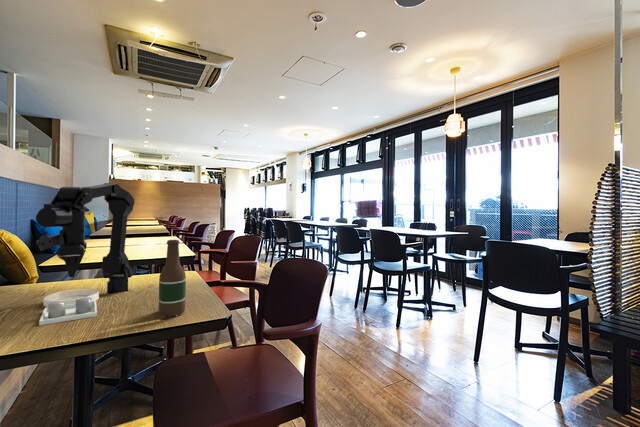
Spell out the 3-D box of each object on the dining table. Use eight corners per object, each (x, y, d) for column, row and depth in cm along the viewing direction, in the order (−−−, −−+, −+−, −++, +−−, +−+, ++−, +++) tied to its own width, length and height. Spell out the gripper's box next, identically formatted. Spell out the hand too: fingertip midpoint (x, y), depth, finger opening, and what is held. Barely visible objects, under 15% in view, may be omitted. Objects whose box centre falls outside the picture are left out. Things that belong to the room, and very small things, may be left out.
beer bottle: (158, 319, 92) (159, 241, 92) (158, 311, 99) (159, 239, 99) (186, 315, 96) (187, 240, 95) (184, 308, 102) (185, 238, 102)
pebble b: (65, 312, 94) (65, 300, 94) (65, 316, 91) (65, 303, 91) (48, 315, 91) (48, 302, 91) (47, 319, 88) (47, 305, 88)
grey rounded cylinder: (91, 308, 98) (91, 296, 98) (91, 312, 95) (91, 299, 95) (75, 311, 95) (75, 298, 95) (75, 314, 92) (75, 302, 92)
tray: (96, 306, 103) (96, 300, 103) (97, 318, 92) (97, 312, 92) (44, 314, 95) (44, 307, 95) (39, 328, 84) (39, 321, 84)
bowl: (98, 294, 117) (98, 287, 117) (99, 304, 105) (99, 296, 105) (46, 301, 107) (46, 292, 107) (41, 313, 96) (41, 303, 96)
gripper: (44, 224, 99) (43, 272, 99) (33, 227, 83) (32, 283, 84) (86, 224, 105) (86, 268, 105) (84, 227, 90) (83, 278, 90)
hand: (72, 274), depth 96 cm, fingers open, 9 cm apart
